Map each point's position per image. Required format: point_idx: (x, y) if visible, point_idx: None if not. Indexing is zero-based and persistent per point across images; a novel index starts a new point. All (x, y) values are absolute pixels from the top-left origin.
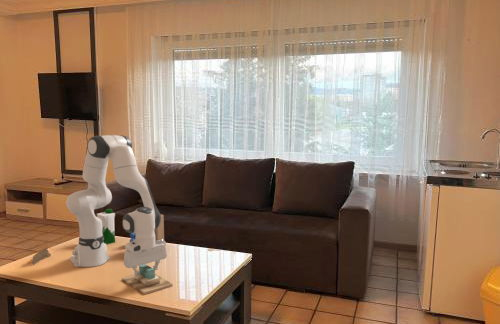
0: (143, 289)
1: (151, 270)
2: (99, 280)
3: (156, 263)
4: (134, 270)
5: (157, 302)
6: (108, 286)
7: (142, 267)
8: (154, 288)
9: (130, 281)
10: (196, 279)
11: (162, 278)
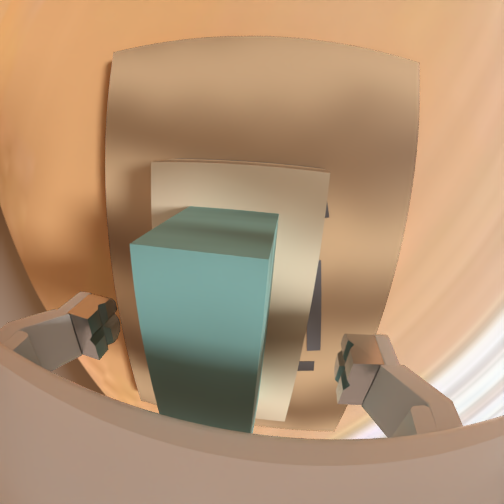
0: (148, 375)
1: None
2: (49, 8)
3: (395, 409)
4: (47, 337)
5: None
6: (29, 128)
7: (146, 356)
8: None
9: (122, 185)
10: None
11: None
